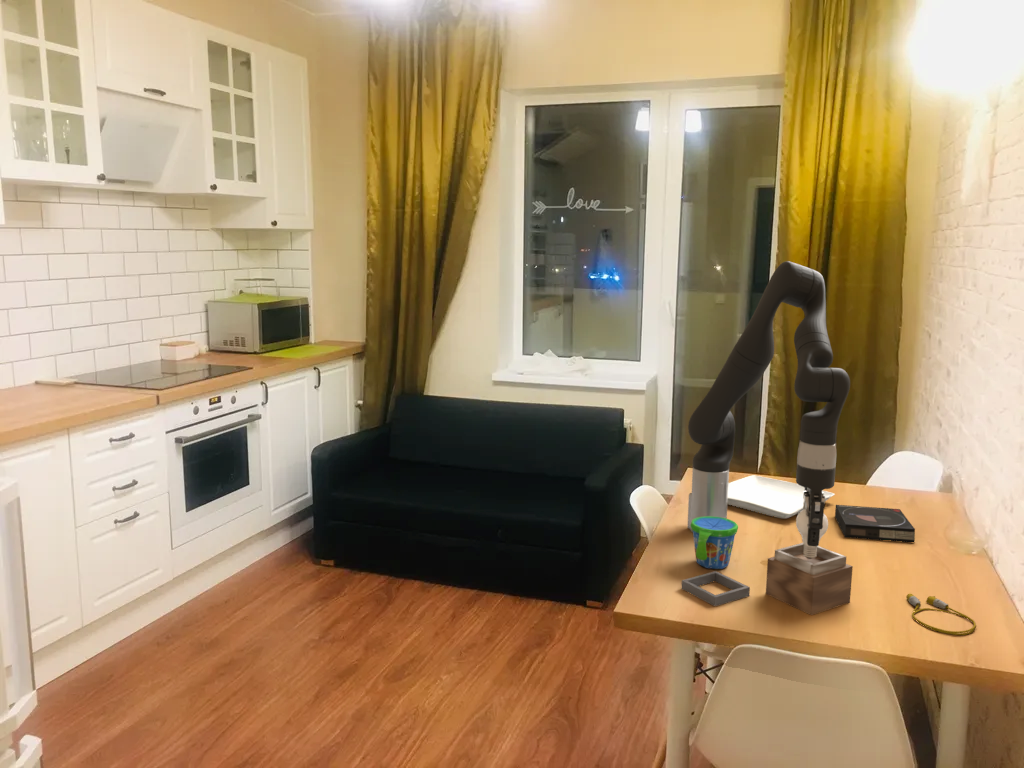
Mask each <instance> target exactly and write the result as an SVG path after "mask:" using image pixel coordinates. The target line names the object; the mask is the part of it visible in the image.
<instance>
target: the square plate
mask: <svg viewBox="0 0 1024 768" xmlns="http://www.w3.org/2000/svg"><path fill="white" fill-rule="evenodd" d="M803 491H805V488H804V487H802V486H800V485H798V484H797V482H796V483H795V482H791V481H786V480H781V479H776V478H771V477H766V476H761V475H754V474H752V475H749V476H746V477H743V478H739V479H736V480H734V481H731V482H728V502H727V506H731V505H732V506H733V507H735V506H736V507H735V508H739V507H740V508H739V509H742V508H743V509H742V510H746V509H747V511H750V510H751V512H754V511H755V512H754V513H758V512H759V514H761V513H762V514H761V515H765V514H766V516H770V517H773V516H774V518H778V519H783V520H785V519H789V518H791V517H794V516H796V515H798V514H799V513H800V512H801V511H802V510H804V509H803V500H804V499H803ZM822 493H824V496H825V502H826V501H828V500H829V499H831V497H833V496H835V495H836V494H835V493H833V492H830V491H827V490H822ZM732 506H731V507H732Z"/></svg>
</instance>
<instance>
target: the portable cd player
mask: <svg viewBox="0 0 1024 768" xmlns="http://www.w3.org/2000/svg"><path fill="white" fill-rule="evenodd" d="M834 509H835V510H834V511H835V512H834V518H835V519H836V520H835V521H836V523H837V524H838V526H839V528H840V530H841V533H842V535H843V536H844V538H845V539H847V538H848V539H858V540H872V541H873V540H874V541H883V540H891V541H890V542H896V541H902V542H901V543H908V542H914V543H915V539H916V529H915V527H914V526H913V525H912V523H911V522H910V521H909V519H908V518H907V516H906V515H905V514H904V513H903V512H902V510H901V509H899V508H888V507H873V506H862V505H861V506H859V505H844V504H835V508H834Z"/></svg>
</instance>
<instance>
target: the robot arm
mask: <svg viewBox="0 0 1024 768" xmlns="http://www.w3.org/2000/svg"><path fill="white" fill-rule="evenodd" d="M782 303H784V304H787V305H790V306H792V307H796V308H800V309H802V311H803V313H804V317H803V319H802V320H801V321H800V322H799V324H798V326H797V327H796V329H795V332H794V334H793V335H794V336H793V342H794V348H795V349H794V350H795V353H796V357H797V370H796V374H795V375H796V376H795V380H794V384H793V385H794V387H793V388H794V393H795V395H796V396H797V397H798V399H800V400H801V401H803V402H811V403H826V404H824V405H825V406H823V407H822V408H821V409H819V410H814V411H810V412H806V413H804V414H803V415H802V417H801V420H800V433H799V444H798V449H797V458H796V472H795V473H796V475H795V481H796V484H798V485H800V486H802V487H804V488H805V491H803V499H804V500H803V509H805V515H806V517H807V518H808V524H807V527H808V536H807V544H808V545H809V546H820V545H819V544H820V541H819V533H820V529H822V528H823V525H822V524H823V516H824V514H825V512H824V511H825V506H826V504H825V503H826V501H825V496H824V493H822V490H823V491H825V490H830V489H832V488H833V487H834V486H835V482H836V481H835V479H836V478H835V477H836V465H837V464H836V463H837V438H838V437H837V433H838V424H839V420H840V416H841V414H842V410H843V408H844V405H845V403H846V400H847V398H848V396H849V392H850V388H851V379H850V376H849V374H848V372H846V370H845V369H843V368H841V367H830V366H831V365H832V364H833V360H834V354H833V349H832V346H831V341H830V338H829V335H828V330H827V313H826V312H827V308H826V307H827V304H826V303H827V302H826V283H825V279H824V277H823V275H822V274H821V273H820V272H819V271H817V270H815V269H813V268H810V267H807V266H804V265H801V264H799V263H795V262H792V261H789V260H786V261H783V262H782V263H780V264H779V265H778V266H777V267H776V269H774V272H773V273H772V275H771V277H770V278H769V281H768V282H767V285H766V287H765V288H764V291H763V293H762V295H761V297H760V299H759V302H758V303H757V306H756V308H755V310H754V312H753V314H752V316H751V318H750V319H749V321H748V323H747V325H746V327H745V329H744V330H743V332H742V334H741V335H740V337H739V338H738V340H737V341H736V343H735V344H734V347H732V349H731V351H730V354H729V356H728V357H727V359H726V361H725V363H724V365H723V366H722V367H721V368H722V369H721V370H720V372H719V373H718V375H717V376H716V379H715V380H714V381H713V383H712V386H711V388H710V389H709V391H708V392H707V393H706V395H705V397H703V399H702V401H701V402H700V403H699V404H698V406H696V409H695V410H694V411H693V413H692V414H691V416H690V418H689V421H688V425H687V429H688V434H689V437H690V438H691V440H692V441H693V442H694V443H696V444H698V445H701V447H700V448H699V450H698V451H697V452H696V454H695V455H694V456H693V458H692V470H691V471H692V474H691V475H692V477H691V478H692V479H691V492H690V493H689V494H688V504H687V505H688V506H687V529H689V530H690V532H691V533H693V530H692V528H691V522H692V520H693V519H695V518H698V517H704V516H713V517H721V518H726V519H728V518H727V517H728V504H727V502H728V483H730V482H729V481H730V479H729V478H730V477H729V476H730V464H731V461H732V459H733V456H734V448H735V437H736V422H735V418H734V415H733V413H732V411H731V410H732V409H733V407H735V406H734V405H736V404H737V403H738V401H740V399H741V398H743V396H744V395H746V394H747V393H748V392H749V391H750V390H752V388H753V387H754V386H755V385H756V384H758V382H759V381H760V380H761V378H762V377H763V376H764V373H765V372H766V370H767V368H768V367H769V365H770V364H771V362H772V360H773V358H774V355H775V337H774V319H775V316H776V313H777V312H778V309H779V306H781V304H782ZM813 518H817V519H818V523H812V520H813Z"/></svg>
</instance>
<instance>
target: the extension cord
mask: <svg viewBox="0 0 1024 768" xmlns="http://www.w3.org/2000/svg"><path fill="white" fill-rule="evenodd" d="M905 597H906V601H907V602H908V604H910V605H912V606H913V607H915V608H914V609H913V610H912V612H913V611H915V612H913V613H912V612H911V617H913V618H914V619H915V620H917V621H918V622H919V623H921V624H922V625H924V626H925V627H924V626H923V627H924V628H926V627H927V628H926V629H928V628H929V629H928V630H931V629H932V630H931V631H934V630H935V631H934V632H937V631H938V632H937V633H941V634H947V635H953V636H966V635H970V634H972V633H973V632H974V631H975V629H976V626H977V623H976V621H975V620H974V619H972V618H971V617H969V616H968V615H966V614H964V613H962V612H960V611H958V610H955V609H953V608H952V607H949V604H948V603H946V602H945V601H943V600H941V599H939V598H936V595H933V596H931V595H929V596H928V597H927V599H926V601H925V603H926V602H927V603H926V604H928V603H929V604H928V605H930V604H931V606H933V605H934V607H936V609H935V608H929V607H927V608H926V607H925V608H924V607H923V608H920V607H921V606H922V604H921V603H922V602H921V601H920V598H919V599H918V598H917V597H916V595H914V594H913V593H907V595H906V596H905ZM938 607H939V609H937V608H938ZM925 610H927V611H934V610H937V611H936V612H941V611H943V613H948V612H949V613H948V614H951V613H952V614H951V615H955V614H956V615H955V616H958V615H960V616H959V617H961V616H962V617H961V618H964V617H965V618H964V619H966V618H968V619H969V621H970V622H971V621H972V622H973V623H972V622H971V623H972V624H973V626H972V627H971V628H969V629H966V630H959V631H957V630H956V631H953V630H947V629H941V628H938V627H934V626H932V625H930V624H927V623H925V622H923V621H921V620H920V619H918V618H917V617H915V614H917V613H919V612H921V611H925ZM948 610H949V611H948ZM913 618H912V619H913ZM914 619H913V620H914ZM968 619H967V620H968ZM915 620H914V621H915ZM918 622H917V623H918ZM919 623H918V624H919ZM921 624H920V625H921ZM922 625H921V626H922Z"/></svg>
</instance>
